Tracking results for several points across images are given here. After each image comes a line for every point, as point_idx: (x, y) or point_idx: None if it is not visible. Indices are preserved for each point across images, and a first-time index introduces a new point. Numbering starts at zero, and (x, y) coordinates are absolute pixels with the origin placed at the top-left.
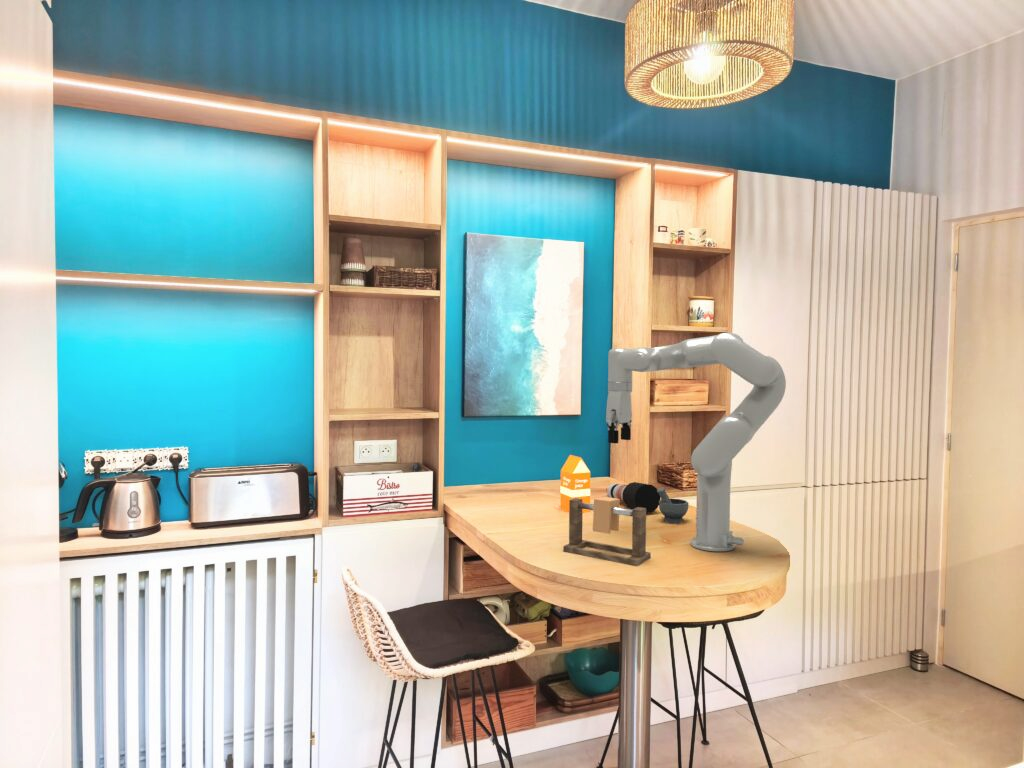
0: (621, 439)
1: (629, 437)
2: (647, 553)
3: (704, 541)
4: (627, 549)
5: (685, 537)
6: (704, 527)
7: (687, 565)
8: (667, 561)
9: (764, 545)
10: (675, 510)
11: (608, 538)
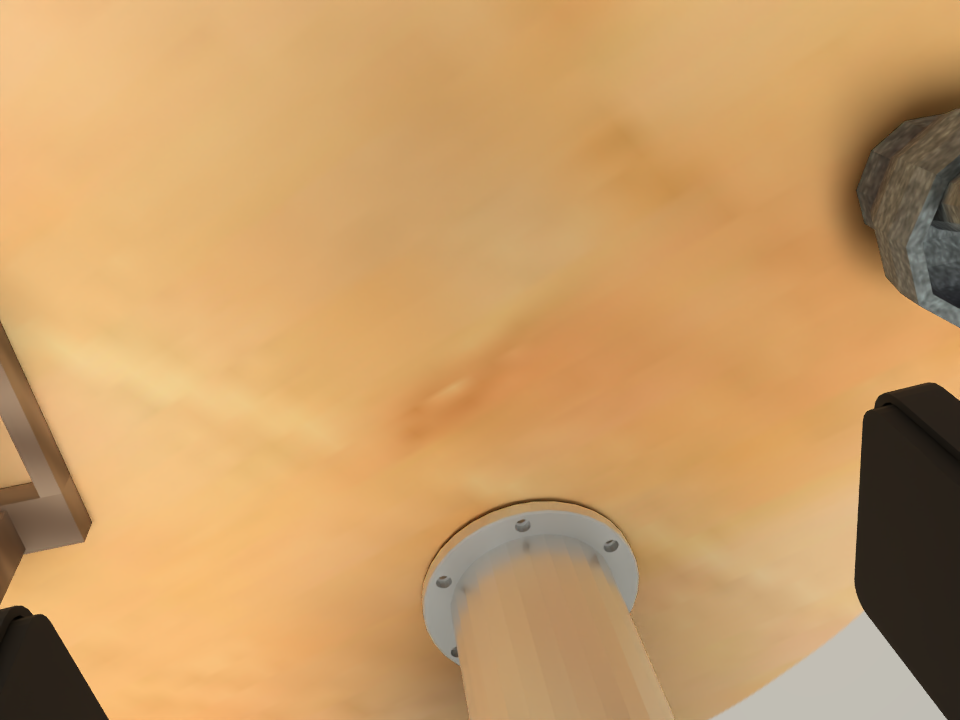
0: (876, 400)
1: (892, 642)
2: (51, 544)
3: (454, 620)
4: (10, 434)
5: (591, 428)
6: (463, 679)
7: (151, 671)
8: (120, 597)
9: (693, 691)
10: (892, 274)
11: (202, 117)
